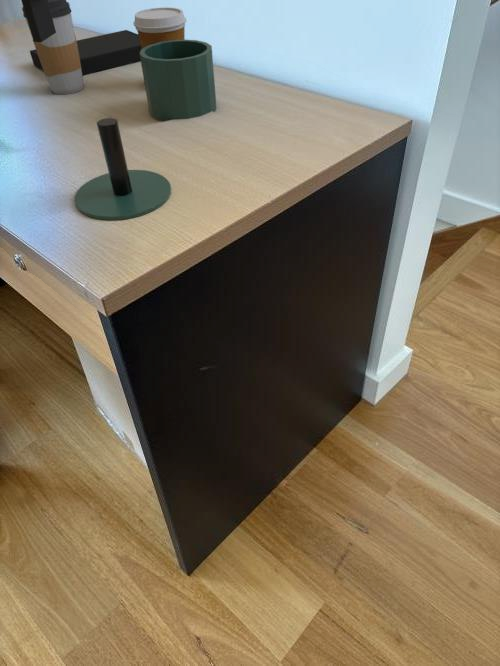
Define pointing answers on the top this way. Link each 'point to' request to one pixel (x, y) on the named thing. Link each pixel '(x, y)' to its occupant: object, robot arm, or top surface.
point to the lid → (120, 183)
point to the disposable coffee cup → (159, 25)
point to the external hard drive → (104, 51)
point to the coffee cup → (60, 51)
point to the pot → (179, 79)
